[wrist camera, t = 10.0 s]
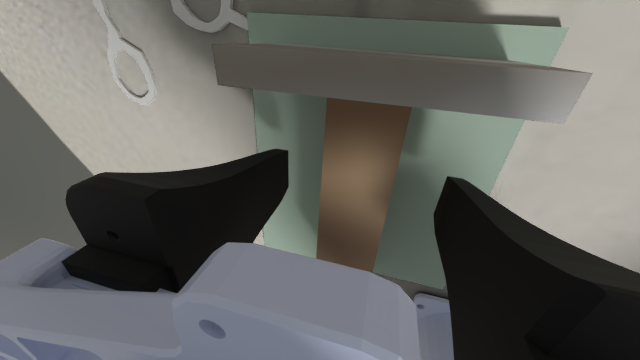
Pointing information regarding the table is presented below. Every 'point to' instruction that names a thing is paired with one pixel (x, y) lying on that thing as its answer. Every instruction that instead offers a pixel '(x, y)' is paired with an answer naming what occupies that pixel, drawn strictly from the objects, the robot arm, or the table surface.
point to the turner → (386, 117)
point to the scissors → (119, 44)
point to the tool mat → (420, 140)
